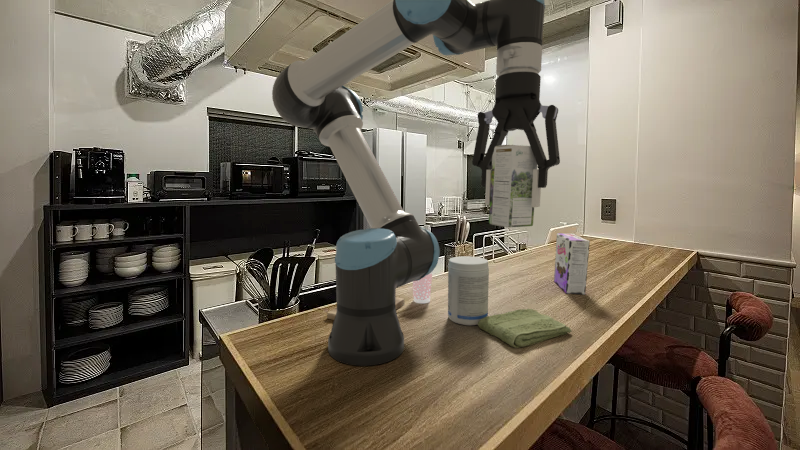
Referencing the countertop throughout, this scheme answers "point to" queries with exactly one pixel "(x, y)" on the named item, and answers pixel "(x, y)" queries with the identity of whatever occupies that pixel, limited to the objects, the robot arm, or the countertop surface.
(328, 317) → the beech cutting board
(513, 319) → the washcloth
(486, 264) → the supplement tub
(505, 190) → the syrup box
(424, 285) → the beverage cup
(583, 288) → the candy box
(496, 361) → the countertop surface
